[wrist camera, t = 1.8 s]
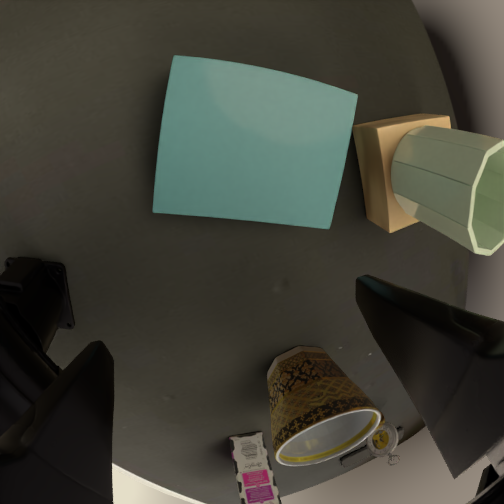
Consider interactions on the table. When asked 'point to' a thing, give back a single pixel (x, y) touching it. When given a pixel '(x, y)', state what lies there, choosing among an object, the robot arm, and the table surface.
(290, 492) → the table surface
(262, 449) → the candy bar box
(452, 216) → the pale green faceted cup
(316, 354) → the ceramic cup
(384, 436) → the pocket watch
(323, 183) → the box
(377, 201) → the tan block
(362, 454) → the phone
